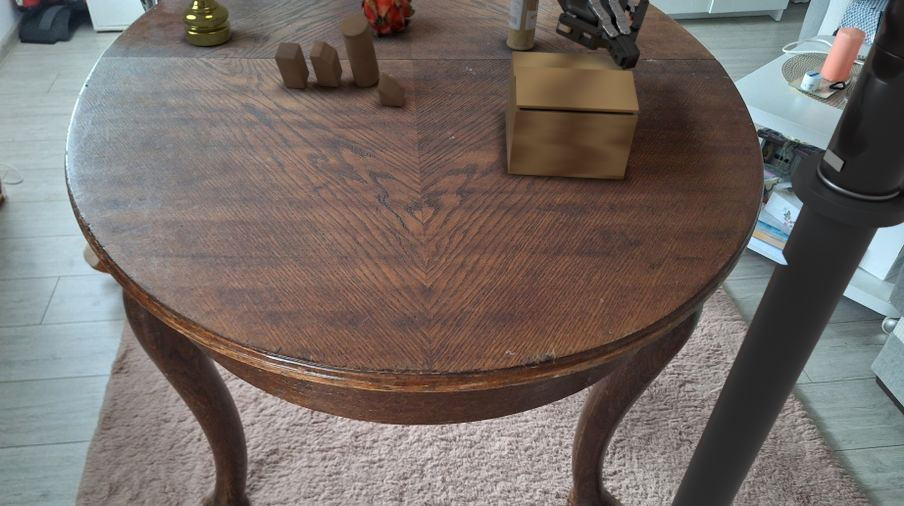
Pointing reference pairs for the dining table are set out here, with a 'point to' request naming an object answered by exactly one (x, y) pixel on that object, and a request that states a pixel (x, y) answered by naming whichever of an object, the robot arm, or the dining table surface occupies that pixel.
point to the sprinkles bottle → (522, 24)
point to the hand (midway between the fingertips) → (631, 63)
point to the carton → (566, 128)
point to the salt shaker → (206, 23)
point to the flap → (576, 89)
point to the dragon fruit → (387, 15)
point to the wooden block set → (329, 63)
